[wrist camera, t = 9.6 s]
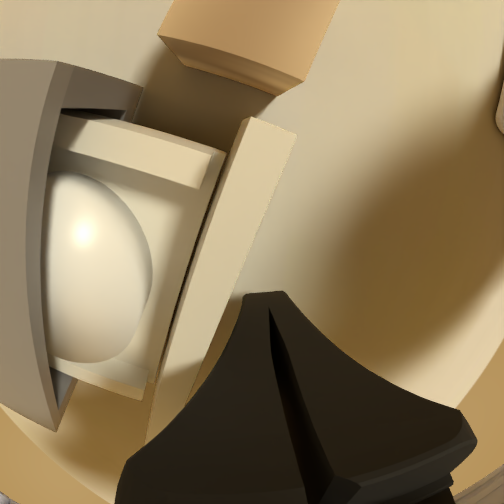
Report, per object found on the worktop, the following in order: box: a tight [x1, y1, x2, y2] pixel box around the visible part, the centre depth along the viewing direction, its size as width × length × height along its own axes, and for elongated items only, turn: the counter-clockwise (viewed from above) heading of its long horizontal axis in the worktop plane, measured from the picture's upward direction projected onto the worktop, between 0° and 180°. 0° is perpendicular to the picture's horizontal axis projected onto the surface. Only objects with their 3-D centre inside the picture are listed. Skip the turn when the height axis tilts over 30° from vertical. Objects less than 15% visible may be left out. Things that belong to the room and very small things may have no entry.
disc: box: [40, 171, 153, 363], centre depth 7 cm, size 6×6×2 cm
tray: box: [47, 108, 298, 446], centre depth 7 cm, size 10×11×4 cm
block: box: [157, 0, 340, 96], centre depth 5 cm, size 3×3×4 cm
